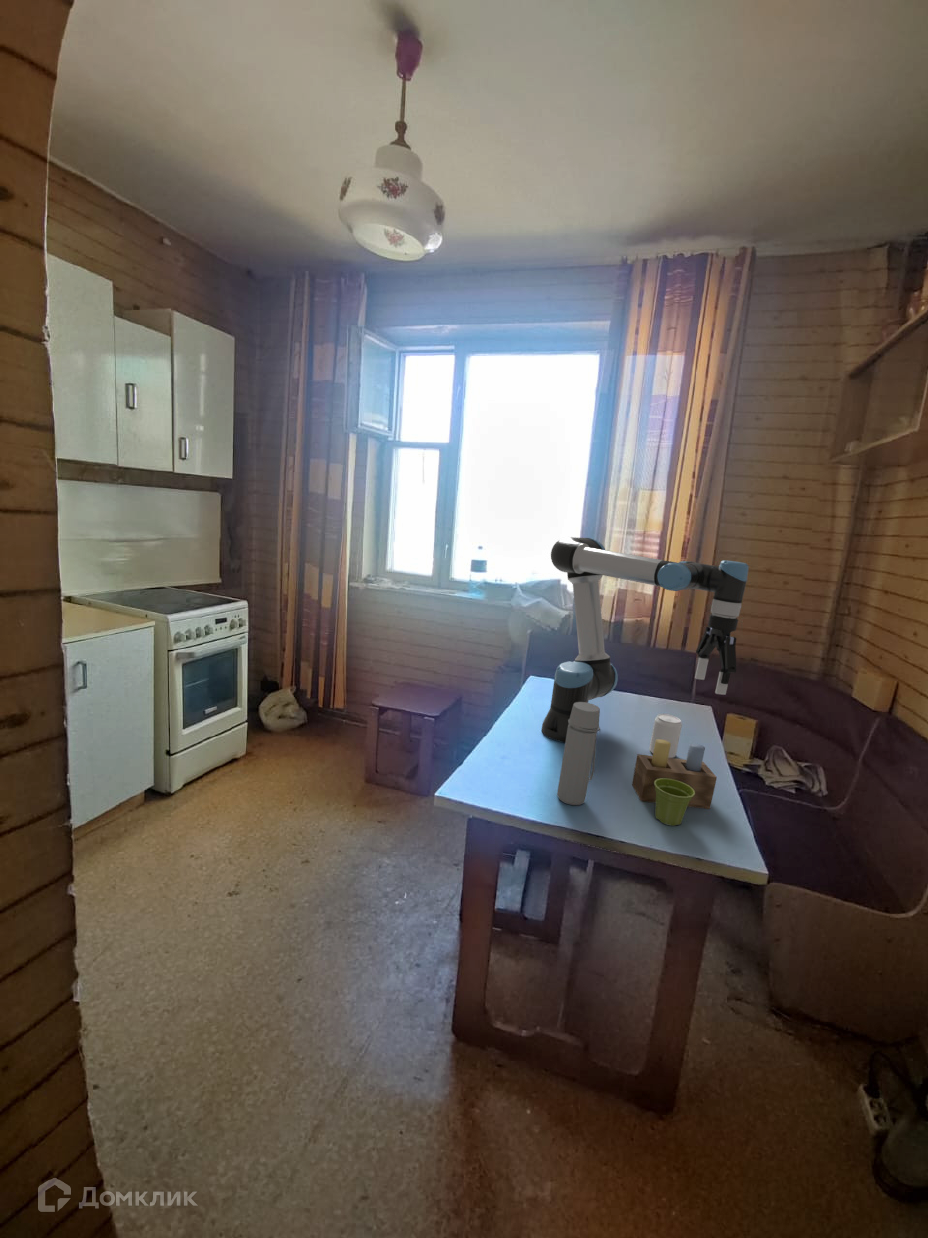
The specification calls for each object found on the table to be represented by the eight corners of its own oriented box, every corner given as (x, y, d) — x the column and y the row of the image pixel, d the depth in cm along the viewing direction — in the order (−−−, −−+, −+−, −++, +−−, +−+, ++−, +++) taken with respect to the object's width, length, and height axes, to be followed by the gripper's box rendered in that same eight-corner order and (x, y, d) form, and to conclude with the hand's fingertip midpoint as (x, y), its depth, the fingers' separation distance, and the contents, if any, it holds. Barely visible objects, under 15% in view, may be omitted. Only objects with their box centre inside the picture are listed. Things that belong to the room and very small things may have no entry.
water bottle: (567, 809, 141) (582, 713, 136) (550, 793, 148) (564, 701, 143) (597, 805, 144) (614, 711, 139) (579, 789, 151) (594, 700, 146)
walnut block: (640, 801, 149) (647, 769, 147) (631, 784, 158) (637, 754, 156) (709, 809, 149) (716, 777, 147) (696, 792, 158) (703, 761, 156)
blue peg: (686, 776, 150) (692, 748, 148) (681, 770, 154) (687, 742, 152) (701, 778, 150) (707, 750, 148) (695, 771, 154) (701, 744, 152)
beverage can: (676, 753, 183) (683, 717, 181) (674, 762, 176) (681, 725, 174) (650, 746, 186) (657, 711, 184) (647, 754, 179) (654, 718, 177)
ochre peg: (652, 772, 150) (658, 744, 148) (648, 766, 154) (653, 738, 152) (667, 774, 150) (672, 746, 148) (662, 768, 154) (668, 740, 152)
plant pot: (647, 805, 147) (653, 774, 145) (686, 815, 145) (693, 783, 143) (648, 824, 138) (654, 791, 136) (689, 834, 136) (696, 800, 134)
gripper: (760, 626, 152) (743, 702, 156) (717, 608, 176) (703, 674, 180) (732, 623, 151) (716, 699, 156) (693, 606, 176) (680, 672, 180)
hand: (709, 686), depth 168 cm, fingers open, 13 cm apart
